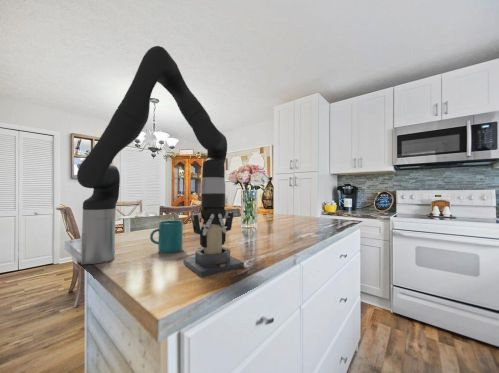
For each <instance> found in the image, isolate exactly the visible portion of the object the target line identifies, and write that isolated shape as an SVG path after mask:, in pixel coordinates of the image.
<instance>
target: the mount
mask: <svg viewBox="0 0 499 373" xmlns="http://www.w3.org/2000/svg"><path fill="white" fill-rule="evenodd" d="M182 263H183V265H185V267H187V268H188V269H190V270H191V271H192V272H194V274H197V275H198V276H199V277H200V278H204V277H208V276H213V275H217V274H220V273H225V272H228V271H233V270H237V269H241V268H245V262H244V261H242V260H240V259H238V258H236V257H233V256H231V249H228V248H226V247H223V246H222V253H220V254H204V248H203V247H202V248H201V247H200V248H199V249H197V250H196V251H195V254H194V256H193V257H186V258H183V262H182Z"/></svg>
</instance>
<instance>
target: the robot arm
mask: <svg viewBox="0 0 499 373" xmlns="http://www.w3.org/2000/svg"><path fill="white" fill-rule="evenodd" d="M157 83H158V84H160V85H161V86H162V87H163V88H164V89H166V90H167V92H168V93H169V94H170V95H171V97H173V99H174V101H175V103H176V105H177V107H178V109H179V111H180V114H181V115H182V116H183V117H184V119H185V121H186V123H187V124H188V125H189V127H190V128H191V129H192V132H193V133H194V136H195V138H196V139H197V142H198V143H199V144H200V146H201V147H203V148H204V149H205V150H206V151H207V153H206V154H207V155H206V159H205V160H204V161H203V163H202V170H201V171H202V172H201V174H202V179H201V187H200V188H201V189H200V190H201V193H200V194H201V195H200V197H201V198H200V201H201V202H200V204H201V205H200V206H201V207H200V212H198V213H192V214H191V215H190V217H191V223H192V224H191V225H192V229H193V233H195V234H198V235H199V244H200V246H201V247H202V248H206V247H207V236H206V233H207V230H208V229H209V227H210V225H211V224H219V225H220V226H221V227H222V246H223V245H225V244H226V233H227V232H229V231H231V230H232V225H233V219H234V212H231V211H226V181H225V180H226V179H225V175H226V174H225V167H226V166H225V163H226V159H227V154H228V141H227V140H228V139H227V138H226V136H225V135H224V134H223V133H222V132H221V131H220V130H219V129H217V127H216V126H215V125H214V123H213V122H212V119H211V116H210V115H209V114H208V112H207V110H206V109H205V107H204V106H203V105H202V104H201V102H200V100H198V98H197V97H196V96H195V95H194V94H193V92H192V91H191V90H190V88H189V87H188V85H187V84H186V81H185V79H184V78H183V75H182V73H181V71H180V69H179V66H178V64H177V63H176V61H175V60H174V59H173V57H172V56H171V55H170V53H169V52H168V50H166V48H165V47H163V46H160V45H154V46H153V47H150V48H149V49H148V50H147V51H146V52H145V54H144V55H143V57H142V59H141V61H140V63H139V65H138V68H137V70H136V72H135V75H134V77H133V79H132V81H131V84H130V86H128V89H127V91H126V93H125V94H124V96H123V99H122V101H121V102H120V103H119V105H118V106H117V108H116V109H115V112H114V113H113V115H112V117H111V119H110V121H109V123H108V125H106V127H105V130H104V131H103V133H102V134H101V136H100V137H99V139H98V140H97V142H96V143H95V145H94V147H93V148H92V149H91V150H90V151H89V152H88V154H87V155H86V157H85V158H84V159H83V161H82V162H81V164H80V165H79V167H78V170H77V174H76V178H77V182H78V183H79V185H81V187H83V188H86V189H93V191H92V194H91V196H90V197H88V198H87V199H85V200H84V201H83V202H82V225H81V226H82V227H81V247H80V248H81V253H80V256H81V257H80V265H82V266H83V265H93V264H94V265H95V264H102V263H106V262H109V261H112V260H114V259H115V258H116V257H115V253H116V251H115V250H116V247H115V246H116V214H117V213H116V210H117V209H116V208H117V207H116V206H117V203H118V200H119V196H120V184H121V183H120V182H121V177H120V176H121V174H120V171H119V169H118V167H117V166H116V165H115V164H112V163H113V161H114V159H115V158H116V156H117V155H118V154H119V153H120V152H121V151H122V150H123V149H125V148H126V147H127V146H129V145H130V144H132V143H133V142H134V141H135V140H136V139H137V138H138V137H139V136H140V134H141V133H142V132H143V129H144V128H145V126H146V124H147V122H148V119H149V115H150V109H151V107H150V105H151V96H152V93H153V90H154V88H155V86H156V84H157ZM224 218H225V222H224ZM201 219H202V223H201V224H200V220H201Z"/></svg>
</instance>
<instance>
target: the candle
mask: <svg viewBox="0 0 499 373" xmlns="http://www.w3.org/2000/svg"><path fill="white" fill-rule="evenodd" d="M206 236H207V247H206V248H204V254H220V253H222V247H223V245H222V227H221V226H220V225H219V224H211V225H210V227H209V229H208V230H207V233H206Z"/></svg>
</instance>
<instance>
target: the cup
mask: <svg viewBox="0 0 499 373" xmlns="http://www.w3.org/2000/svg"><path fill="white" fill-rule="evenodd" d="M157 232H158V239H157V240H158V241H156V240H155V239H154V234H155V233H157ZM183 237H184V222H183V221H182V220H164V221H159V222H158V228H156V229H154V230H152V231H151V233H150V235H149V239H150V241H151V242H152V244H155V245H157V246H158V248H157V249H158V252H159V253H161V254H174V253H179V252H181V251H182V250H183V247H184V246H183V245H184V238H183Z"/></svg>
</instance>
